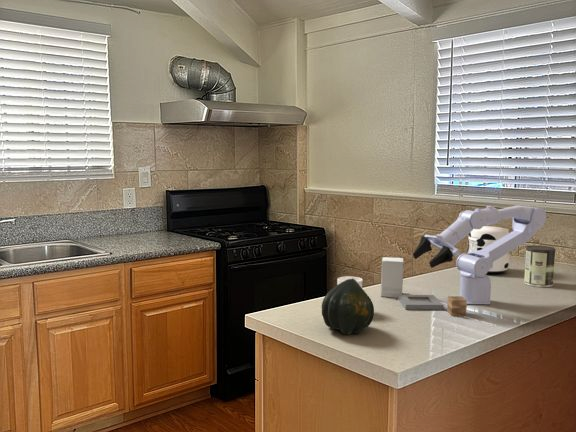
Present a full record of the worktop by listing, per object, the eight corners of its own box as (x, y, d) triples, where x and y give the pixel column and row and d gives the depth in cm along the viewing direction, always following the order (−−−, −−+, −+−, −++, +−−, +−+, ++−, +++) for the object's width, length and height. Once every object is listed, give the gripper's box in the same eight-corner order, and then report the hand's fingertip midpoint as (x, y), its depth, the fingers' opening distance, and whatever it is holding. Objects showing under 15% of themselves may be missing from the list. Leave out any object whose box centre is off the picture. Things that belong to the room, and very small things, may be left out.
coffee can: (546, 281, 222) (548, 245, 220) (558, 287, 212) (560, 250, 210) (519, 280, 222) (521, 244, 220) (529, 287, 212) (532, 249, 210)
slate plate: (433, 299, 194) (433, 295, 193) (443, 309, 182) (443, 304, 182) (397, 299, 194) (398, 294, 193) (405, 309, 182) (405, 304, 181)
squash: (322, 321, 151) (358, 277, 153) (305, 307, 165) (337, 267, 167) (359, 352, 155) (393, 309, 157) (339, 336, 169) (370, 297, 171)
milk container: (512, 270, 241) (515, 227, 239) (503, 278, 226) (506, 233, 224) (470, 265, 250) (472, 224, 248) (459, 272, 236) (461, 229, 233)
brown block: (461, 311, 180) (462, 296, 180) (465, 316, 176) (466, 300, 175) (447, 311, 180) (447, 296, 179) (451, 316, 176) (452, 300, 175)
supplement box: (402, 298, 195) (403, 261, 194) (380, 296, 197) (381, 260, 195) (402, 292, 202) (403, 257, 201) (381, 291, 204) (382, 256, 202)
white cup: (364, 308, 183) (364, 277, 182) (358, 314, 175) (359, 283, 174) (340, 305, 185) (340, 275, 184) (333, 312, 178) (334, 280, 177)
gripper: (433, 219, 189) (403, 243, 186) (466, 233, 177) (435, 259, 174) (438, 235, 193) (409, 259, 189) (471, 250, 181) (440, 276, 178)
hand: (422, 260), depth 182 cm, fingers open, 7 cm apart
